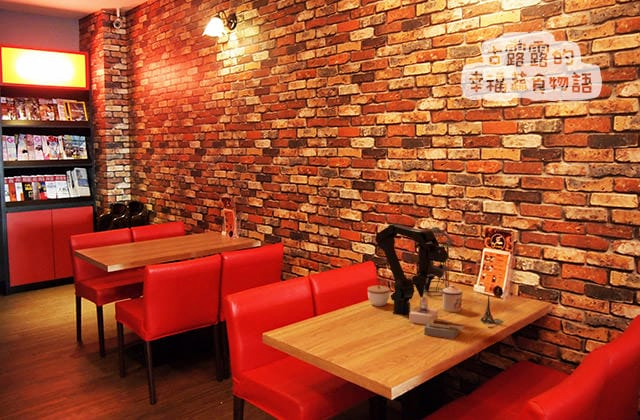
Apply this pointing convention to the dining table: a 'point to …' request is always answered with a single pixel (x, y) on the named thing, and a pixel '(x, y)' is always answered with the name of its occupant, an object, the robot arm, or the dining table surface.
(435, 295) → the geometric lantern
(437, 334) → the socket block
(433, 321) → the brass guide bars
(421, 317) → the square hole block
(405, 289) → the robot arm
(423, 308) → the steel pin
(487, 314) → the eiffel tower figurine
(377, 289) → the lidded jar
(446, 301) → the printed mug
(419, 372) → the dining table surface
